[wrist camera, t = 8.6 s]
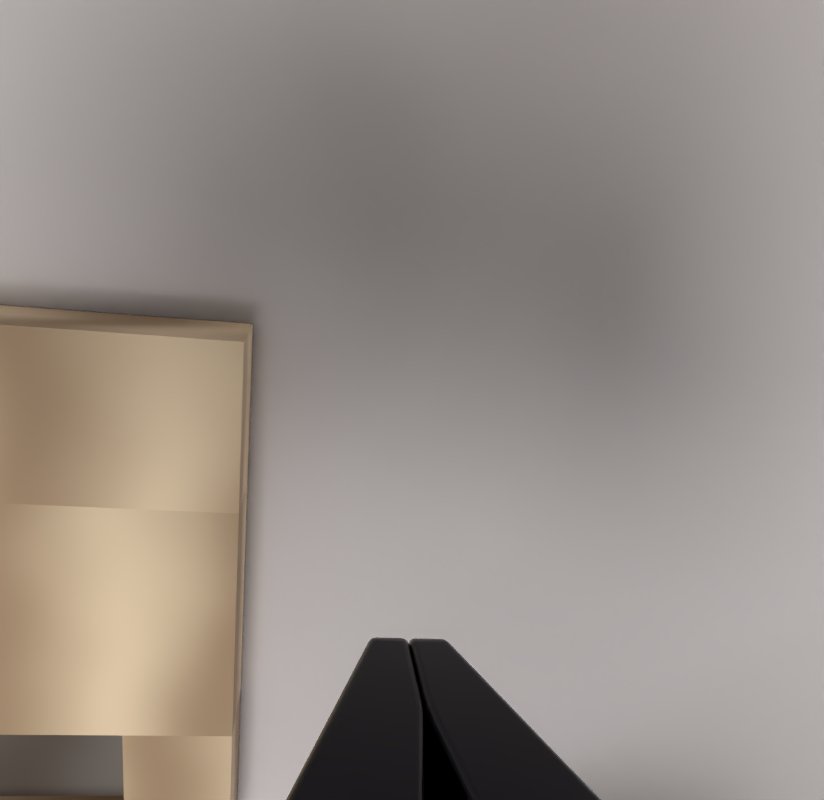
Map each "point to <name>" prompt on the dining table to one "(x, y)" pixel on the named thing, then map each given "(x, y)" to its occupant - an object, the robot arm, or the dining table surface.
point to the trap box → (121, 554)
